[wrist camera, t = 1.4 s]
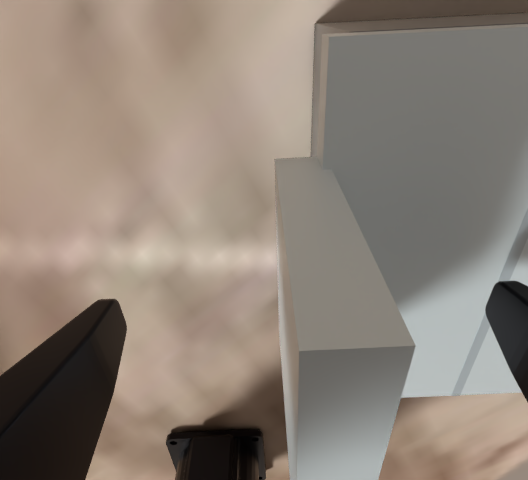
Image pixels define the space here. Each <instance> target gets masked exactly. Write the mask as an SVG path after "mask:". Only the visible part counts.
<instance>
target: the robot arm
mask: <svg viewBox="0 0 528 480" xmlns="http://www.w3.org/2000/svg"><path fill="white" fill-rule="evenodd" d="M485 313H486V317H487V319H488V322H489V324H490V326H491V328H492V331H493V333H494V335H495V337H496V340H497V342H498V344H499V346H500V349H501V351H502V353H503V355H504V358H505V360H506V362H507V364H508V367H509V369H510V371H511V373H512V375H513V377H514V379H515V380H516V382H517V384H518V386H519V388H520V389H521V391H522V393H523V395H524V396H525V398H526V400H527V402H528V286H526V285H524V284H522V283H520V282H518V281H499V282H497V283H496V284H495V285H494V287H493V289H492V292H491V294H490V297H489V299H488V302H487V304H486V308H485ZM126 331H127V326H126V321H125V319H124V316H123V313H122V310H121V307H120V304H119V302H118V301H117V300H116V299H101V300H97V301H96V302H95V303H93V304H92V305H91V306H89V307H88V308H87V309H86V310H84V311H83V312H82V313H80V314H79V315H78V316H77V317H75V318H74V319H73V320H71V321H70V322H69V323H68V324H66V325H65V326H64V327H62V328H61V329H60V330H59V331H57V332H56V333H55V334H53V335H52V336H51V337H50V338H48V339H47V340H46V341H44V342H43V343H42V344H41V345H39V346H38V347H37V348H35V349H34V350H33V351H32V352H30V353H29V354H28V355H26V356H25V357H24V358H23V359H21V360H20V361H19V362H17V363H16V364H15V365H14V366H12V367H11V368H10V369H8V370H7V371H6V372H5V373H3V374H2V375H1V376H0V480H85V478H86V475H87V472H88V469H89V466H90V463H91V460H92V457H93V454H94V451H95V448H96V445H97V442H98V439H99V436H100V433H101V430H102V427H103V424H104V421H105V418H106V415H107V412H108V409H109V406H110V402H111V399H112V396H113V393H114V388H115V384H116V380H117V375H118V370H119V365H120V361H121V356H122V351H123V346H124V341H125V337H126ZM166 445H167V447H168V450H169V453H170V456H171V458H172V461H173V464H174V466H175V469H176V477H175V480H265V479H266V470H265V458H264V446H263V434H262V432H261V431H260V430H233V431H211V432H188V433H171V434H169V435H168V436H167V440H166Z"/></svg>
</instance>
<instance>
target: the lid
mask: <svg viewBox="0 0 528 480" xmlns="http://www.w3.org/2000/svg"><path fill="white" fill-rule="evenodd" d="M275 195H276V232H277V268H278V305H279V338H280V351H281V365H282V378H283V392H284V406H285V419H286V433H287V446H288V460H289V474H290V480H378V478H379V474H380V471H381V467H382V464H383V460H384V457H385V453H386V450H387V446H388V442H389V439H390V435H391V432H392V428H393V425H394V421H395V418H396V414H397V410H398V407H399V403H400V400H401V398H407V397H430V396H459V395H475V394H498V393H521V392H522V391H521V389H520V388H519V386H518V384H517V382H516V380H515V379H514V377H513V375H512V373H511V371H510V369H509V367H508V364H507V362H506V360H505V358H504V355H503V353H502V351H501V349H500V346H499V344H498V342H497V340H496V337H495V335H494V333H493V331H492V328H491V326H490V324H489V322H488V319H487V317H486V313H485V308H486V304H487V302H488V299H489V297H490V294H491V292H492V289H493V287H494V285H495V284H496V283H497V282H499V281H518V282H520V283H522V284H524V285H526V286H528V24H514V25H494V26H474V27H454V28H434V29H414V30H394V31H374V32H354V33H334V34H322V46H321V71H320V96H319V121H318V145H317V157H303V158H282V159H275Z"/></svg>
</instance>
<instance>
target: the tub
mask: <svg viewBox="0 0 528 480" xmlns="http://www.w3.org/2000/svg"><path fill="white" fill-rule="evenodd" d="M514 24H528V13H512V14H492V15H472V16H452V17H432V18H413V19H393V20H373V21H353V22H333V23H315V31H314V65H313V98H312V131H311V157H317V145H318V121H319V96H320V71H321V46H322V34H334V33H354V32H374V31H394V30H414V29H434V28H454V27H474V26H494V25H514Z"/></svg>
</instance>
